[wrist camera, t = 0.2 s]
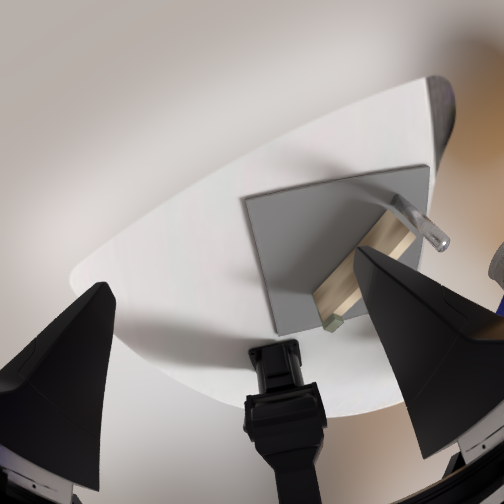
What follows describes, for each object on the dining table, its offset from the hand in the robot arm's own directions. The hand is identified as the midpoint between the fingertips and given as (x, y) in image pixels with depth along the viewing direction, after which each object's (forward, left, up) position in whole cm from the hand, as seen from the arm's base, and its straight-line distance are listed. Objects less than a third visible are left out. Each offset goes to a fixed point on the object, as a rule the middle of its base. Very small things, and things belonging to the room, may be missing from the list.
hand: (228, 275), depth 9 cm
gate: (-12, -10, -13) cm, 20 cm away
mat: (-13, -10, -14) cm, 21 cm away
